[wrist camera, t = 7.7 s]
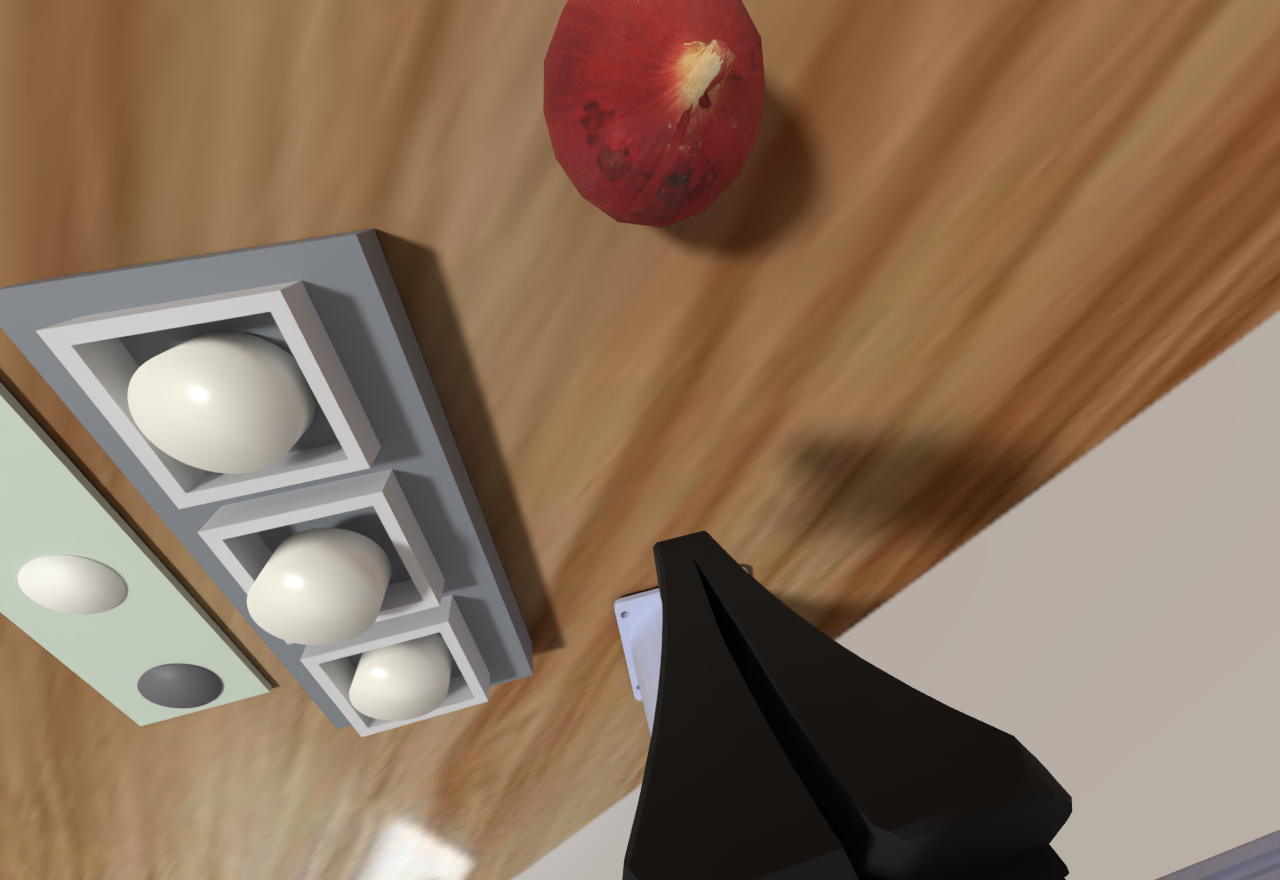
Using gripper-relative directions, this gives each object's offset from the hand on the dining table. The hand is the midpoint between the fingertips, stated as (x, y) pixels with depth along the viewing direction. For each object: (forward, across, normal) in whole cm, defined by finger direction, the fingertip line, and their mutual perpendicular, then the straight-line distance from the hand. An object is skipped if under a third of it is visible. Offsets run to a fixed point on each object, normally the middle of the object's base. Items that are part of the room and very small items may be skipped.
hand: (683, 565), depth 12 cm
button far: (+8, +12, +10) cm, 18 cm away
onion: (+11, -2, -10) cm, 15 cm away
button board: (+10, +12, +3) cm, 16 cm away
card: (+10, +23, +3) cm, 25 cm away
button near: (+8, +12, -4) cm, 15 cm away
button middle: (+7, +12, +3) cm, 14 cm away
